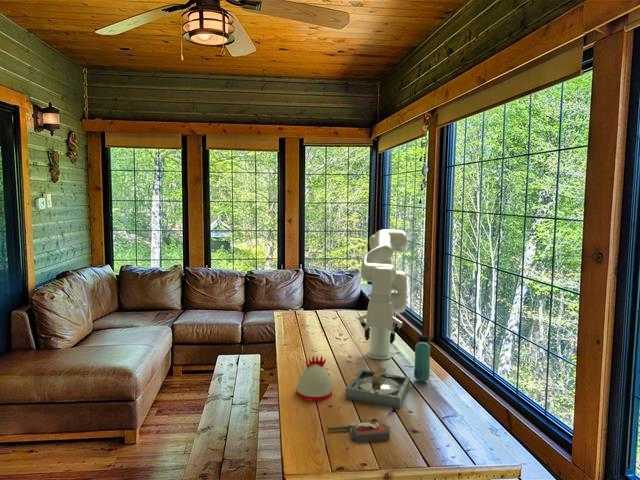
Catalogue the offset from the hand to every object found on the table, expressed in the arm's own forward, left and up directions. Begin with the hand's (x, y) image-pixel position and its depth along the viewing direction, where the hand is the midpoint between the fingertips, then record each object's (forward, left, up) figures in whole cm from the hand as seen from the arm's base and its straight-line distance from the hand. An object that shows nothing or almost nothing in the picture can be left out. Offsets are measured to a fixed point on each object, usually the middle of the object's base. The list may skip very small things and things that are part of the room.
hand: (379, 341), depth 173 cm
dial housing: (0, 0, -21) cm, 21 cm away
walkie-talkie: (+34, +3, -22) cm, 40 cm away
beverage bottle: (-18, +14, -21) cm, 31 cm away
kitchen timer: (+11, -23, -21) cm, 33 cm away
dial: (0, 0, -18) cm, 18 cm away
